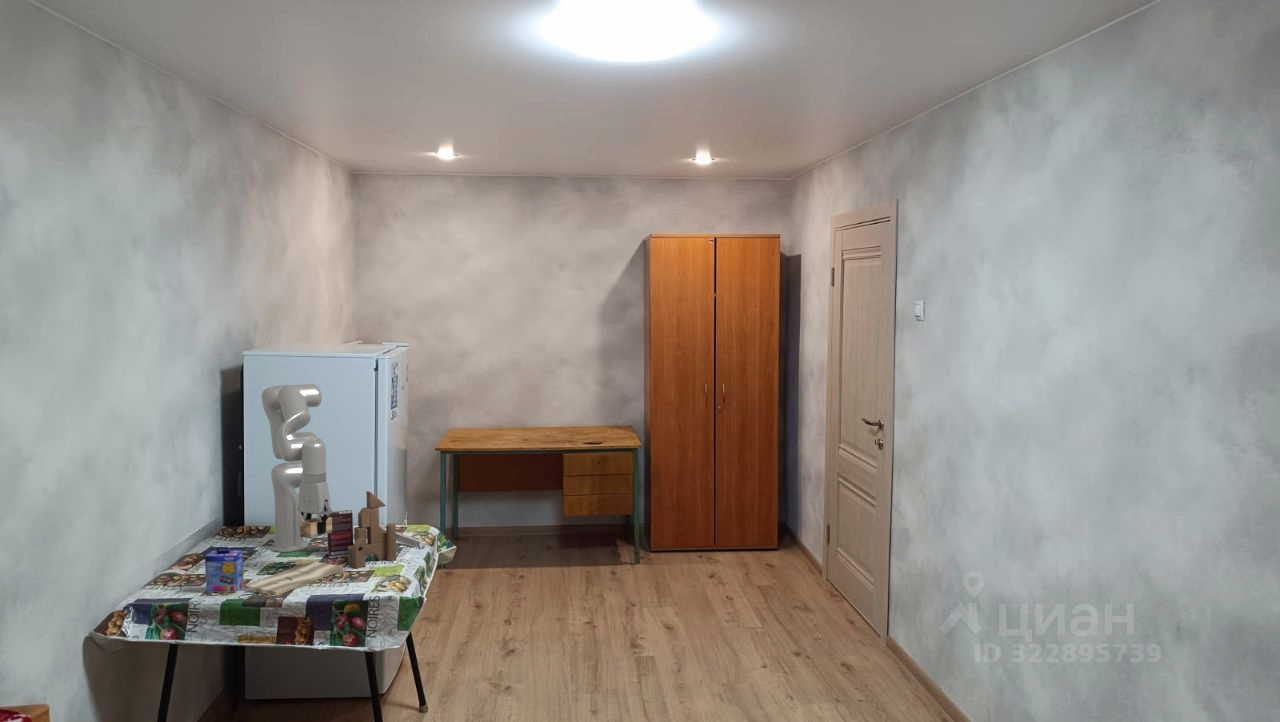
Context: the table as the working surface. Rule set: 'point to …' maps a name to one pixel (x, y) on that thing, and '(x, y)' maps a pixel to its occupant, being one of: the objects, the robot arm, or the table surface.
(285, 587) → the board
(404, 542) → the wrench
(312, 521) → the block
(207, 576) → the ink cartridge box
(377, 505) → the wooden toy
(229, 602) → the table surface
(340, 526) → the supplement box
